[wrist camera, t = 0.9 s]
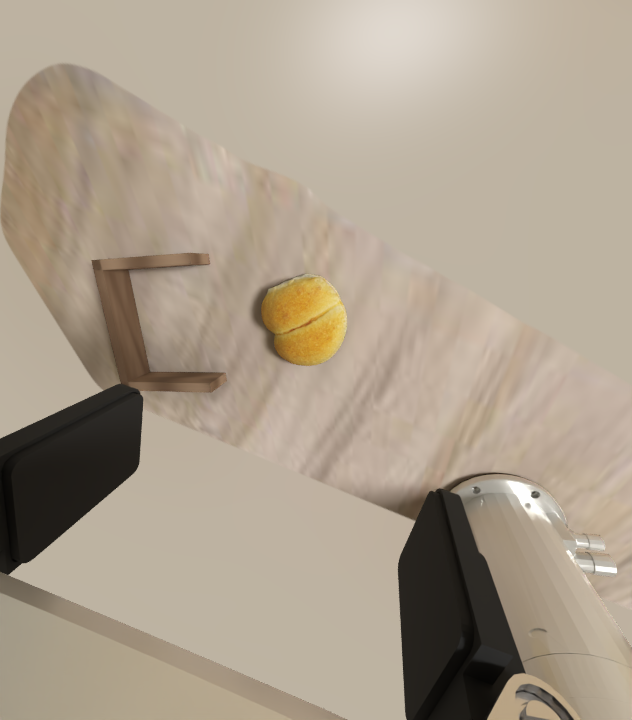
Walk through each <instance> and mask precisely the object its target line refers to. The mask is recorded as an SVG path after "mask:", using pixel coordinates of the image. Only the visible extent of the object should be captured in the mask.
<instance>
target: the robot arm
mask: <svg viewBox="0 0 632 720" xmlns="http://www.w3.org/2000/svg"><path fill="white" fill-rule="evenodd" d="M142 411H143V397H142V395H140V391H139V390H138V389H136V388H133V387H130V386H127V385H124V384H118V385H115V386H113V387H111V388H109V389H106V390H104V391H102V392H100V393H98V394H96V395H94V396H91V397H89V398H87V399H85V400H83V401H81V402H78V403H76V404H74V405H72V406H70V407H68V408H65V409H63V410H61V411H59V412H57V413H55V414H53V415H50V416H48V417H46V418H44V419H42V420H40V421H37V422H35V423H33V424H31V425H29V426H27V427H25V428H22V429H20V430H18V431H16V432H14V433H12V434H9V435H7V436H5V437H3V438H1V439H0V720H347V719H345V718H342V717H340V716H338V715H336V714H333V713H331V712H329V711H327V710H325V709H322V708H320V707H318V706H315V705H313V704H311V703H309V702H306V701H304V700H302V699H299V698H297V697H295V696H292V695H290V694H288V693H285V692H283V691H281V690H278V689H276V688H274V687H271V686H269V685H267V684H264V683H262V682H260V681H257V680H255V679H253V678H250V677H248V676H246V675H243V674H241V673H239V672H236V671H234V670H232V669H229V668H227V667H225V666H222V665H220V664H218V663H215V662H213V661H211V660H209V659H206V658H204V657H201V656H199V655H196V654H194V653H192V652H190V651H187V650H185V649H183V648H180V647H177V646H175V645H173V644H170V643H168V642H166V641H163V640H161V639H159V638H156V637H154V636H152V635H149V634H147V633H144V632H142V631H140V630H138V629H135V628H133V627H130V626H128V625H126V624H123V623H121V622H118V621H116V620H114V619H111V618H109V617H107V616H104V615H102V614H100V613H97V612H95V611H92V610H90V609H88V608H85V607H83V606H80V605H78V604H76V603H73V602H71V601H69V600H66V599H64V598H61V597H59V596H56V595H54V594H52V593H49V592H47V591H44V590H42V589H39V588H37V587H34V586H32V585H30V584H27V583H25V582H23V581H20V580H18V579H15V578H13V577H11V576H8V575H9V574H10V573H11V572H12V571H13V570H15V569H16V568H17V567H18V566H19V565H21V564H22V563H27V562H29V561H31V560H32V559H34V558H35V557H36V556H37V555H38V554H40V552H42V551H43V550H44V549H45V548H47V547H48V546H49V545H50V544H51V543H52V542H54V541H55V540H56V539H57V538H58V537H60V536H61V535H62V534H63V533H64V532H65V531H66V530H68V529H69V528H70V527H71V526H72V525H74V524H75V523H76V522H77V521H78V520H80V518H82V517H83V516H84V515H85V514H86V513H88V512H89V511H90V510H91V509H92V508H94V507H95V506H96V505H97V504H98V503H99V502H101V501H102V500H103V499H104V498H105V497H107V496H108V495H109V494H110V493H111V492H112V491H113V490H115V489H116V488H117V487H118V486H119V485H121V484H122V483H123V482H124V481H125V480H126V479H128V478H129V477H130V476H131V475H132V474H133V473H134V472H135V471H136V470H137V468H138V465H139V459H140V444H141V427H142ZM577 548H585V549H588V550H597V551H604V550H605V543H604V540H603V539H602V537H601V536H600V535H593V534H575V533H574V532H573V531H571V530H568V524H567V521H566V517H565V514H564V512H563V511H562V509H561V507H560V505H559V504H558V503H557V501H556V500H555V499H554V497H553V496H552V495H551V494H550V493H548V492H547V491H546V490H545V489H544V488H542V487H541V486H539V485H537V484H536V483H534V482H532V481H529V480H527V479H524V478H521V477H517V476H513V475H504V474H492V475H483V476H479V477H474V478H471V479H469V480H467V481H464V482H462V483H461V484H459V485H457V486H456V487H454V488H453V489H452V490H451V491H450V492H449V491H446V490H443V489H440V488H439V489H437V490H436V492H433V491H430V492H429V494H428V495H427V498H426V500H425V502H424V504H423V507H422V509H421V511H420V513H419V515H418V518H417V520H416V522H415V524H414V527H413V529H412V531H411V533H410V536H409V538H408V540H407V542H406V544H405V547H404V549H403V551H402V553H401V556H400V559H399V563H398V580H399V598H400V618H401V638H402V656H403V676H404V696H405V713H406V719H407V720H632V647H631V645H630V644H629V642H628V641H627V639H626V637H625V636H624V634H623V633H622V631H621V630H620V628H619V627H618V625H617V624H616V622H615V620H614V619H613V617H612V616H611V614H610V613H609V611H608V610H607V608H606V607H605V605H604V603H603V602H602V600H601V599H600V597H599V596H598V594H597V593H596V591H595V589H594V588H593V586H592V585H591V583H590V582H589V580H588V579H587V577H586V575H585V574H584V572H586V573H590V574H592V575H600V576H608V577H615V576H616V574H617V568H616V565H615V562H614V560H613V559H612V557H611V556H610V555H609V554H602V553H593V552H585V553H583V552H575V551H576V550H577ZM1 572H2V573H1ZM3 573H4V574H3Z"/></svg>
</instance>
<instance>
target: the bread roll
mask: <svg viewBox="0 0 632 720" xmlns="http://www.w3.org/2000/svg"><path fill="white" fill-rule="evenodd" d="M261 314H262V319H263V322H264V324H265V325H266V327H267V328H268V329H269V330H270V331H271V332H273V333H274V334H275V338H274V345H275V349H276V351H277V353H278V354H279V355H280V356H281V357H282V358H283V359H285V360H287V361H288V362H290V363H293V364H296V365H304V366H312V365H317V364H321V363H323V362H325V361H327V360H329V359H330V358H331V357H332V356H333V355H334V354H335V353H336V352H337V350H338V349H339V348H340V346H341V344H342V342H343V340H344V338H345V333H346V329H347V314H346V309H345V307H344V305H343V303H342V302H341V299H340V297H339V294H338V292H337V291H336V289H335V288H334V287H333V286H332V285H331V284H330V283H329V282H328V281H327V280H326V279H324V278H323V277H321V276H317V275H311V274H304V275H302V276H298V277H296V278H292V279H290V280H288V281H285V282H283V283H281V284H280V285H278V286H275V287H273V288H269V289H268V292H267V295H266V296H265V298H264V300H263V303H262V307H261Z"/></svg>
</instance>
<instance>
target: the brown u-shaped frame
mask: <svg viewBox="0 0 632 720" xmlns="http://www.w3.org/2000/svg"><path fill="white" fill-rule="evenodd" d="M91 261H92V265H93V269H94V273H95V277H96V281H97V286H98V290H99V294H100V298H101V302H102V306H103V311H104V315H105V319H106V323H107V327H108V331H109V335H110V340H111V344H112V348H113V352H114V356H115V360H116V365H117V369H118V373H119V377H120V381H121V384H124V385H127V386H130V387H133V388H136V389H138V390H139V391H175V392H213V391H214V390H215V389H217V388H218V387H219V386H221V385H222V384H223V383H225V382H226V381H227V379H226V373H194V372H150V370H149V365H148V360H147V356H146V351H145V346H144V342H143V337H142V332H141V327H140V323H139V318H138V313H137V308H136V304H135V299H134V294H133V290H132V285H131V280H130V275H129V271H128V270H130V269H145V268H160V267H175V266H190V265H204V264H210V260H209V254H198V253H182V254H169V255H156V256H143V257H130V258H117V259H104V260H91Z"/></svg>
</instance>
